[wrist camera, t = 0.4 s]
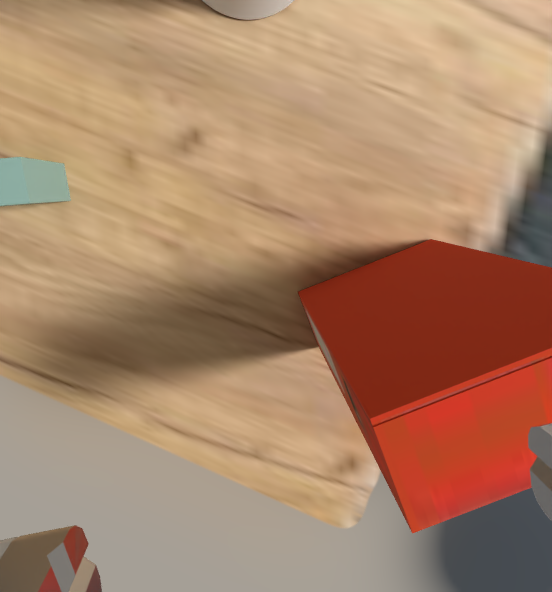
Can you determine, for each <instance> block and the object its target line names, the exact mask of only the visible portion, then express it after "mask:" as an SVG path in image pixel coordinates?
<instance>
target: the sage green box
mask: <svg viewBox="0 0 552 592" xmlns="http://www.w3.org/2000/svg"><path fill="white" fill-rule="evenodd" d="M62 201H71V199H70V193H69V188H68V183H67V177H66V172H65V166H64V164H63V163H57V162H50V161H43V160H37V159H30V158H24V157H14V158H2V159H0V206H13V205H25V204H37V203H50V202H62Z"/></svg>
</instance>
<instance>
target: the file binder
mask: <svg viewBox="0 0 552 592" xmlns="http://www.w3.org/2000/svg"><path fill="white" fill-rule="evenodd" d="M298 294H299V297H300V299H301V302H302V304H303V307H304V310H305V312H306V315H307V317H308V320H309V323H310V325H311V328H312V330H313V333H314V335H315V338H316V341H317V343H318V346H319V348H320V350H321V352H322V354H323V356H324V358H325V360H326V362H327V364H328V366H329V368H330V370H331V372H332V374H333V376H334V378H335V380H336V382H337V384H338V386H339V388H340V390H341V392H342V394H343V396H344V398H345V400H346V402H347V404H348V406H349V408H350V410H351V412H352V414H353V416H354V418H355V420H356V422H357V424H358V426H359V428H360V430H361V432H362V434H363V436H364V438H365V440H366V442H367V444H368V446H369V448H370V450H371V452H372V454H373V456H374V458H375V460H376V462H377V464H378V466H379V468H380V470H381V472H382V474H383V476H384V478H385V480H386V482H387V484H388V486H389V488H390V489H391V492H392V494H393V496H394V497H395V500H396V502H397V503H398V505H399V507H400V510H401V511H402V513H403V516H404V517H405V520H406V521H407V523H408V525H409V527H410V529H411V531H412V533H415V532H417V531H420V530H422V529H425V528H428V527H430V526H432V525H435V524H438V523H441V522H443V521H446V520H448V519H451V518H453V517H456V516H459V515H461V514H464V513H466V512H469V511H471V510H474V509H477V508H479V507H482V506H484V505H487V504H490V503H492V502H495V501H497V500H500V499H502V498H505V497H508V496H510V495H513V494H516V493H518V492H521V491H523V490H526V489H529V488H531V487H532V486H531V478H530V468H531V466H532V465H533V463H534V461H535V460H536V458H537V456H536V455H535V454H534V453H533V452H532V451H531V450H530V449H529V448H528V434H529V431H530V428H531V427H534V426H539V425H543V424H548V423H552V268H551V267H546V266H542V265H538V264H534V263H530V262H525V261H521V260H517V259H513V258H508V257H504V256H500V255H496V254H491V253H487V252H483V251H479V250H475V249H470V248H466V247H462V246H458V245H453V244H449V243H445V242H441V241H436V240H432V239H430V240H428V241H425V242H423V243H420V244H418V245H415V246H413V247H410V248H407V249H405V250H402V251H400V252H397V253H395V254H392V255H390V256H387V257H385V258H382V259H380V260H377V261H375V262H372V263H370V264H367V265H365V266H362V267H359V268H357V269H354V270H352V271H349V272H347V273H344V274H342V275H339V276H337V277H334V278H332V279H329V280H327V281H324V282H322V283H319V284H317V285H314V286H311V287H309V288H306V289H304V290H301V291H299V292H298Z"/></svg>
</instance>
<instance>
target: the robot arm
mask: <svg viewBox="0 0 552 592" xmlns="http://www.w3.org/2000/svg"><path fill="white" fill-rule="evenodd" d="M202 1H204V2H205V3H206V4H207V5H208V6H210V7H211V8H213V9H214V10H216V11H218V12H220V13H222V14H224V15H227V16H229V17H233V18H237V19H246V20H253V19H261V18H265V17H268V16H271V15H274V14H276V13H278V12H280V11H281V10H283V9H284V8H286V7H287V6H288V5H290V4H291V3H292V2H293V1H294V0H202ZM528 448H529V449H530V450H531V451H532V452H533V453H534V454H535V455H536V456H537V458H536V460H535V461H534V463H533V465H532V466H531V468H530V478H531V486H532V489H533V492H534V494H535V497H536V499H537V502H538V503H539V505H540V507H541V508H542V509H543V511H544V513H545V514H546V515H547V516H548V517H549V519H551V521H552V423H548V424H543V425H539V426H534V427H531V428H530V431H529V434H528ZM87 546H88V541H87V539H86V537H85V534H84V532H83V529H82V528H80V527H77V526H70V527H65V528H59V529H54V530H49V531H44V532H39V533H33V534H28V535H24V536H20V537H14V538H9V539H4V540H0V592H102V589H101V581H100V575H99V572H98V570H97V566H96V565H95V564H94V563H93V562H91V561H90V560H88V559H87V558H85V557H84V554H85V551H86V549H87Z"/></svg>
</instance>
